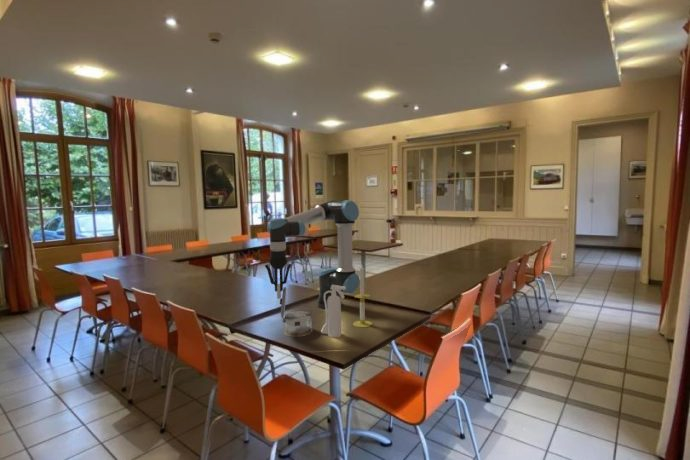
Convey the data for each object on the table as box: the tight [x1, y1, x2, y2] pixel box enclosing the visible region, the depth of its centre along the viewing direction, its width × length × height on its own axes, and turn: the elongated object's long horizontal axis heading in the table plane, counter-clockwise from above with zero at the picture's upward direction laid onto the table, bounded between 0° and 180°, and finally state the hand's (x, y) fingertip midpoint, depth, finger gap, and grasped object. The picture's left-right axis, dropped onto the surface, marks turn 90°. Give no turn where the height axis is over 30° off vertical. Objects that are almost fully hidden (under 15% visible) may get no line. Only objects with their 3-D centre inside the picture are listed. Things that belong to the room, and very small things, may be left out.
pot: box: [282, 310, 313, 337], centre depth 179 cm, size 14×18×8 cm
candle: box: [352, 263, 373, 328], centre depth 187 cm, size 10×10×32 cm
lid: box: [279, 286, 287, 319], centre depth 177 cm, size 15×14×2 cm
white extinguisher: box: [320, 285, 346, 338], centre depth 172 cm, size 7×12×25 cm, turn 73°
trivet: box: [284, 328, 314, 337], centre depth 179 cm, size 14×14×1 cm
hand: (279, 297), depth 177 cm, fingers closed
